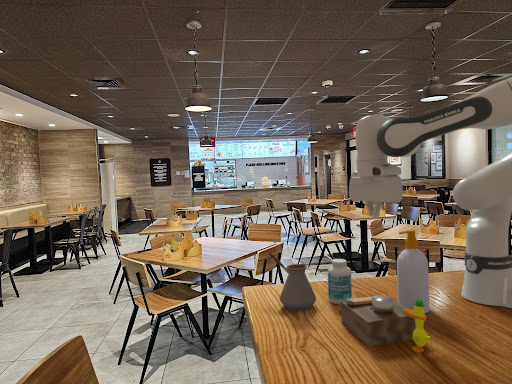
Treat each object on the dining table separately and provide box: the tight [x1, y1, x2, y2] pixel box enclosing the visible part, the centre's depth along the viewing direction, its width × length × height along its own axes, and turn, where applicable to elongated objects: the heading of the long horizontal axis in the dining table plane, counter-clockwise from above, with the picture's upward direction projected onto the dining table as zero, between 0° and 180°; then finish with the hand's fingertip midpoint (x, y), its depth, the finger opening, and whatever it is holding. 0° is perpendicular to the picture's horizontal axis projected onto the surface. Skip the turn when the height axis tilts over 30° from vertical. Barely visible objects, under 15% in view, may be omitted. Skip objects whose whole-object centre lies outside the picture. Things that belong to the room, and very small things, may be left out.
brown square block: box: [340, 299, 416, 347], centre depth 90 cm, size 14×14×6 cm
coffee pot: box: [266, 252, 317, 312], centre depth 113 cm, size 21×12×15 cm, turn 32°
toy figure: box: [403, 299, 431, 354], centre depth 79 cm, size 7×4×12 cm, turn 32°
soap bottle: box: [396, 229, 430, 314], centre depth 102 cm, size 9×9×24 cm
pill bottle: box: [327, 258, 353, 306], centre depth 111 cm, size 8×7×14 cm
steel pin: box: [371, 295, 394, 315], centre depth 88 cm, size 5×5×8 cm
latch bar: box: [345, 296, 373, 306], centre depth 93 cm, size 11×3×1 cm, turn 103°
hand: (374, 216), depth 103 cm, fingers closed
